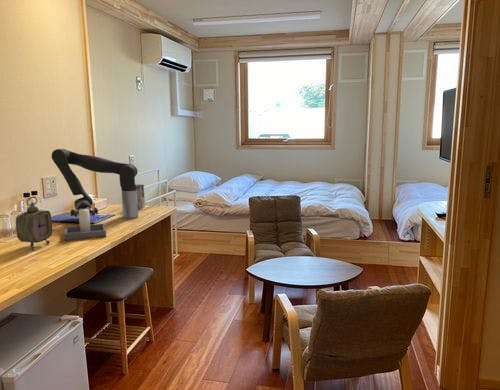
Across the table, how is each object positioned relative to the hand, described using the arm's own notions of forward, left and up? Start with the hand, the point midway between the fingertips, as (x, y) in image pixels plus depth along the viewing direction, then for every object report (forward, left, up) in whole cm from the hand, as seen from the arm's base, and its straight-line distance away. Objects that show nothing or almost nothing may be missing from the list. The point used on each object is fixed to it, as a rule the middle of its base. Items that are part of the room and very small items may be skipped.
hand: (84, 214), depth 226 cm
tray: (0, +9, -9) cm, 13 cm away
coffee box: (-35, -46, -9) cm, 58 cm away
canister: (0, +9, -8) cm, 12 cm away
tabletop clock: (+23, +21, -9) cm, 33 cm away
